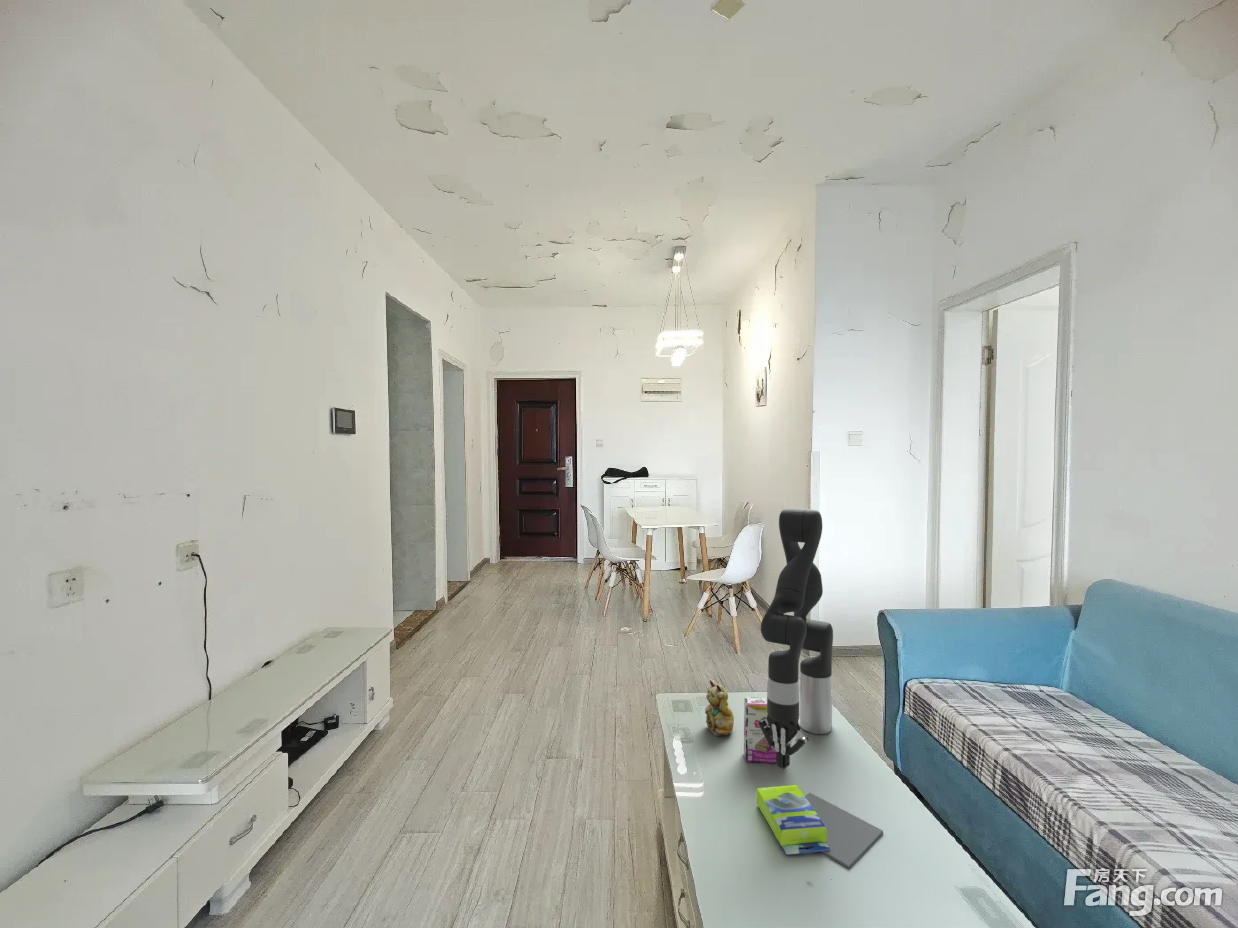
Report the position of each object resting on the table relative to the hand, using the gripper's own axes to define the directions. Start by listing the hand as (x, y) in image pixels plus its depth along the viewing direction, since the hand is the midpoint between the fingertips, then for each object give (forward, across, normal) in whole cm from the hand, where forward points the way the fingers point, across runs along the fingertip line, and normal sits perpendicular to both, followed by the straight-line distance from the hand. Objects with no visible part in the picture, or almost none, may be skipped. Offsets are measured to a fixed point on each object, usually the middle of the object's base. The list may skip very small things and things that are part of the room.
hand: (782, 766), depth 132 cm
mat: (+9, -12, 0) cm, 15 cm away
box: (+7, +1, +1) cm, 7 cm away
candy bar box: (+9, +14, -13) cm, 21 cm away
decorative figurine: (+9, +32, -16) cm, 37 cm away
